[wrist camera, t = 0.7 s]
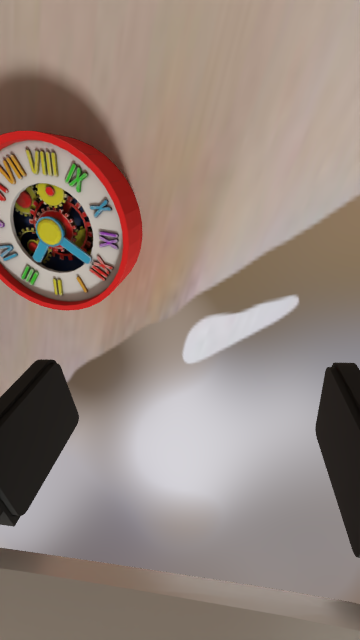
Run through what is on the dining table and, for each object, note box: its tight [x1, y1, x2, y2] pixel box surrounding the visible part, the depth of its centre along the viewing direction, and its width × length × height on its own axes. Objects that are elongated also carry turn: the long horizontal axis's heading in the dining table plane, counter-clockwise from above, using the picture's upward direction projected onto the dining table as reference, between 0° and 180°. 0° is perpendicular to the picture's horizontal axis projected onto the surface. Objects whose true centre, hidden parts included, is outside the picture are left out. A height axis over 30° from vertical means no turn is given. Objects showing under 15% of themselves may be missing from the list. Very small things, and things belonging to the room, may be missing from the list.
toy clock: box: [0, 131, 142, 310], centre depth 35 cm, size 20×6×20 cm
